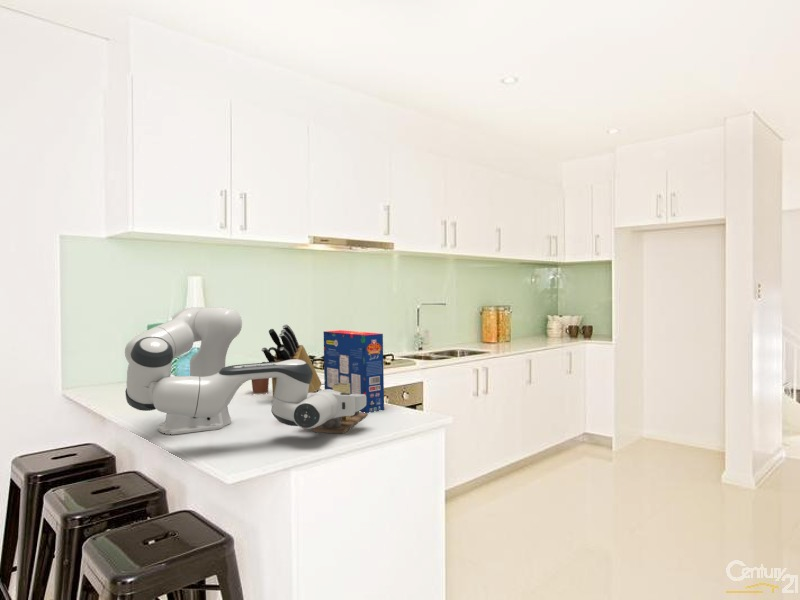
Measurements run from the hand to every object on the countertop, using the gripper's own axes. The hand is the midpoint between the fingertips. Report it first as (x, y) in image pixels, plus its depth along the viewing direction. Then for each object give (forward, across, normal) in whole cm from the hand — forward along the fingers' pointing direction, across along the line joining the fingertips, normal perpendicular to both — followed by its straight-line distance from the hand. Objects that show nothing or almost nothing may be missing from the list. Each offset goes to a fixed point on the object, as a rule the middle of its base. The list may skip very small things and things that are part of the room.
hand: (342, 395), depth 179 cm
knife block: (+39, -36, -9) cm, 54 cm away
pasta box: (+26, -6, -9) cm, 28 cm away
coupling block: (-1, 0, -8) cm, 8 cm away
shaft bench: (-1, 0, -9) cm, 9 cm away
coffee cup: (+44, -54, -9) cm, 70 cm away
